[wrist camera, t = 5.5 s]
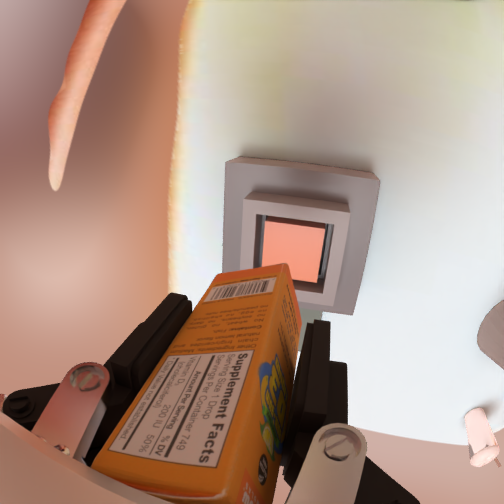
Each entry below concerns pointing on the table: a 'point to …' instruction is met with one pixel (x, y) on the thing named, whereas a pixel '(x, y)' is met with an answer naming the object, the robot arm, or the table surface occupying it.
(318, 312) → the rest mat
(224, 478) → the supplement box
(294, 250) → the breaker button
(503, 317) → the lava lamp
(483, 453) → the milkshake
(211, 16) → the table surface
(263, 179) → the frame
